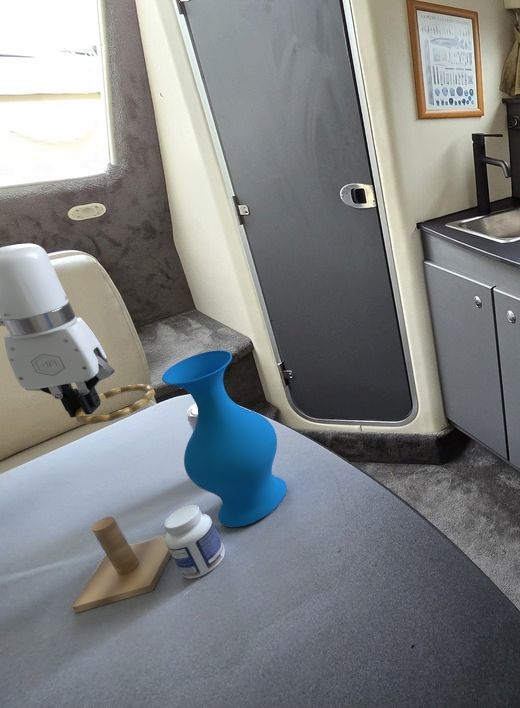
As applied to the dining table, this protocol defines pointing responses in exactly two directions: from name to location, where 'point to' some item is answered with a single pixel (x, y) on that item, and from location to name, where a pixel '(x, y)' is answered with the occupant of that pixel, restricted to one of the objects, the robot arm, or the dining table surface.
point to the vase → (227, 443)
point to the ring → (148, 396)
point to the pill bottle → (193, 541)
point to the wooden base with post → (122, 567)
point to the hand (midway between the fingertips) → (86, 410)
